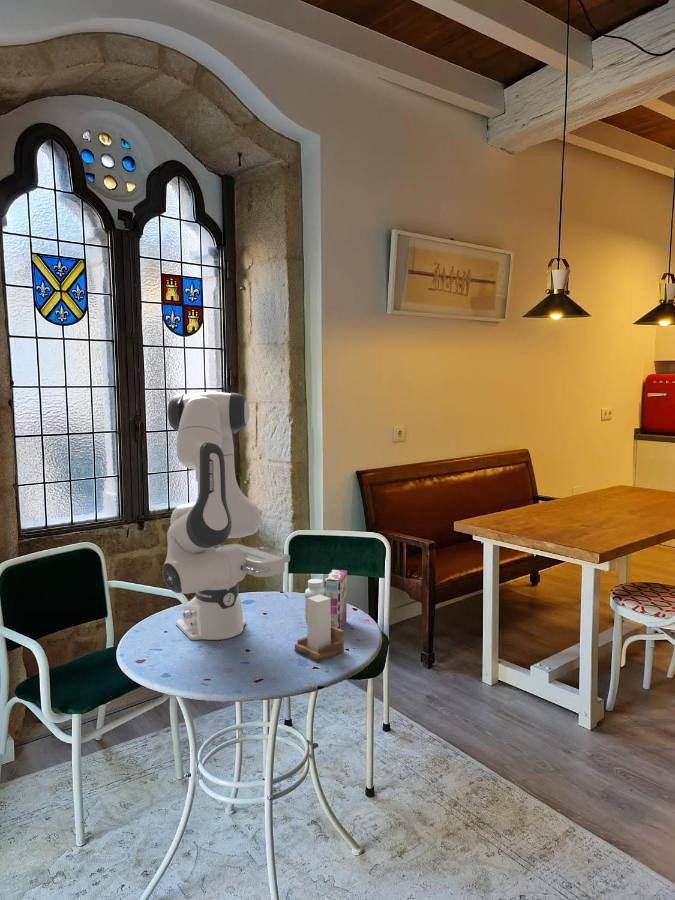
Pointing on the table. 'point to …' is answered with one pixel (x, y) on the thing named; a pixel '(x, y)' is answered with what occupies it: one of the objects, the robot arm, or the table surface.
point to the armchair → (326, 651)
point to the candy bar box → (337, 596)
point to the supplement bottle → (313, 591)
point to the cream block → (318, 622)
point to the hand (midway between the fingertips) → (276, 553)
